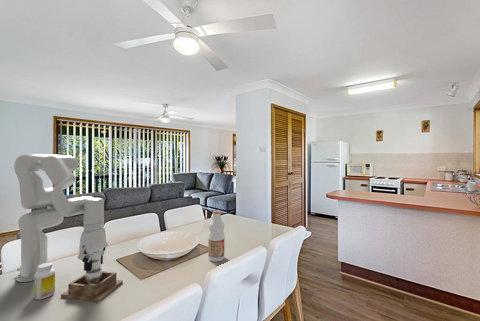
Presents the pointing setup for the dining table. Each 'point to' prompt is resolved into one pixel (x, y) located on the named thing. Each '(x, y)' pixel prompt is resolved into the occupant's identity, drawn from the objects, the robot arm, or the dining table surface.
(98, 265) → the plastic bottle
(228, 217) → the dining table surface
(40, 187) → the robot arm
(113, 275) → the walnut caddy
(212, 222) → the fruit juice
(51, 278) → the supplement bottle
